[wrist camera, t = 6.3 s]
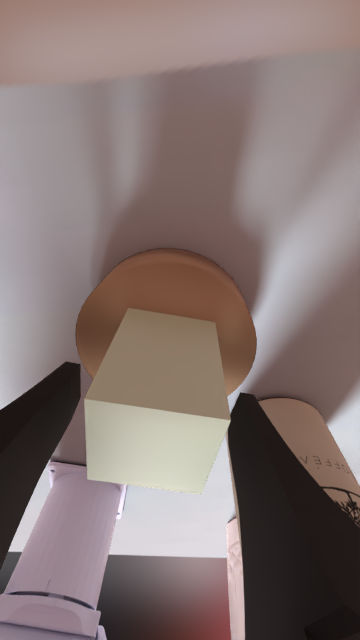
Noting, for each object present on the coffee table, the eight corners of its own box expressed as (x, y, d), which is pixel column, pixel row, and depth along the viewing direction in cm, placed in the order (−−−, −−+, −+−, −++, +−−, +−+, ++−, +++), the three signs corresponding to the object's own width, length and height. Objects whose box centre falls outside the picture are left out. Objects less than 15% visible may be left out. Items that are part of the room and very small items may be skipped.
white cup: (223, 509, 29) (237, 654, 20) (294, 512, 28) (339, 661, 20) (219, 539, 32) (229, 671, 24) (281, 542, 32) (313, 677, 23)
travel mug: (270, 466, 24) (415, 1005, 8) (206, 431, 22) (240, 1067, 6) (342, 424, 21) (808, 1191, 5) (275, 378, 18) (722, 1465, 3)
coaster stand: (221, 390, 19) (226, 423, 17) (92, 367, 19) (76, 398, 16) (269, 267, 14) (286, 288, 12) (96, 231, 14) (73, 244, 11)
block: (198, 385, 15) (201, 494, 10) (124, 373, 15) (87, 479, 10) (215, 321, 13) (230, 420, 8) (128, 307, 13) (83, 398, 7)
